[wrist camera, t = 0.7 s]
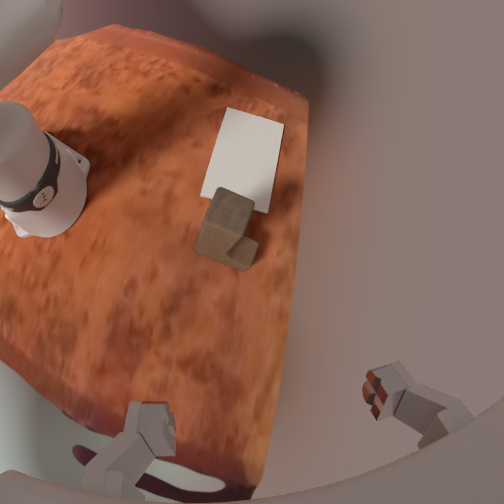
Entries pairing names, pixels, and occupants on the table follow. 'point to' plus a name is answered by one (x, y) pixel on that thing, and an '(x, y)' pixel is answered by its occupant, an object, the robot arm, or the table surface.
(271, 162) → the white board
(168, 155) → the table surface
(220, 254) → the wooden block
